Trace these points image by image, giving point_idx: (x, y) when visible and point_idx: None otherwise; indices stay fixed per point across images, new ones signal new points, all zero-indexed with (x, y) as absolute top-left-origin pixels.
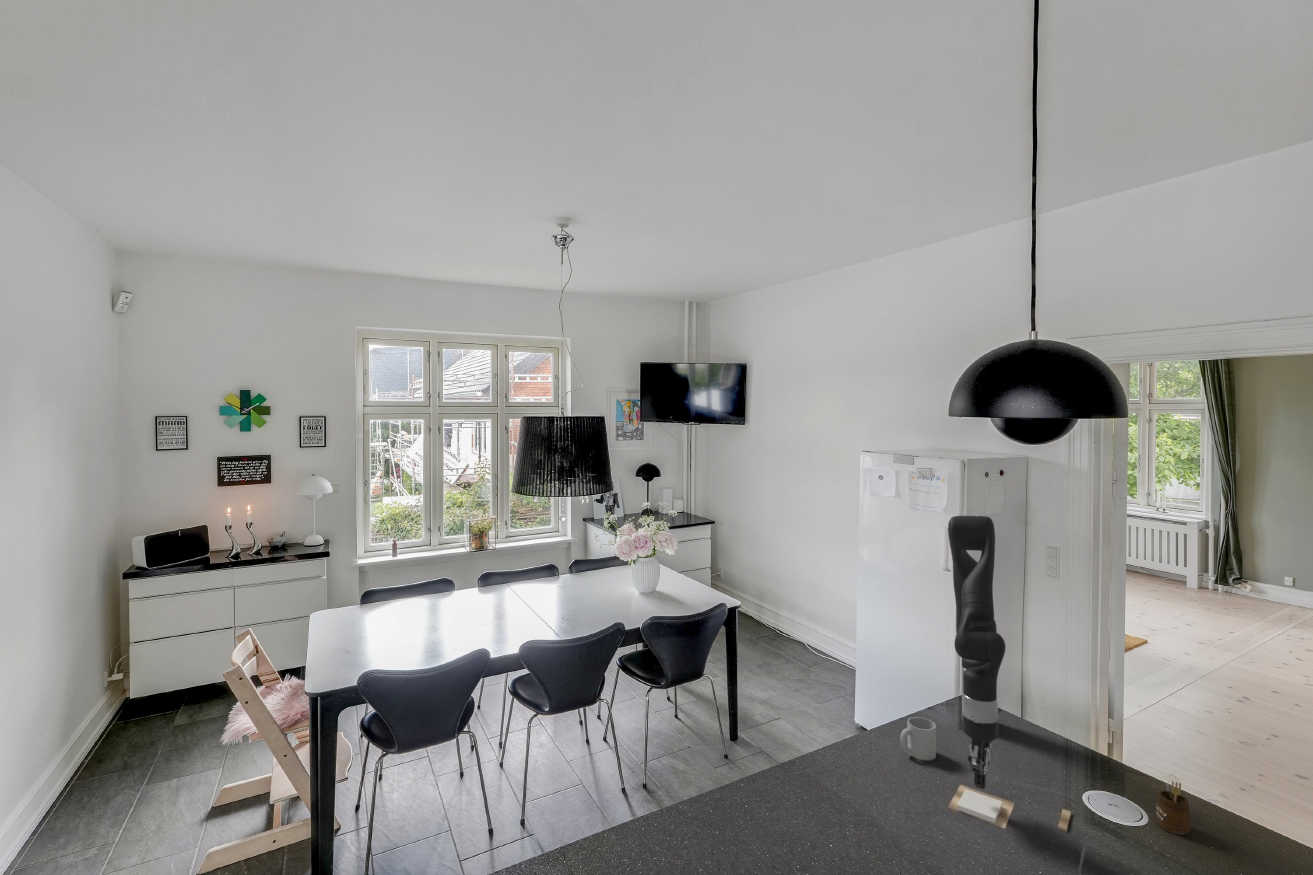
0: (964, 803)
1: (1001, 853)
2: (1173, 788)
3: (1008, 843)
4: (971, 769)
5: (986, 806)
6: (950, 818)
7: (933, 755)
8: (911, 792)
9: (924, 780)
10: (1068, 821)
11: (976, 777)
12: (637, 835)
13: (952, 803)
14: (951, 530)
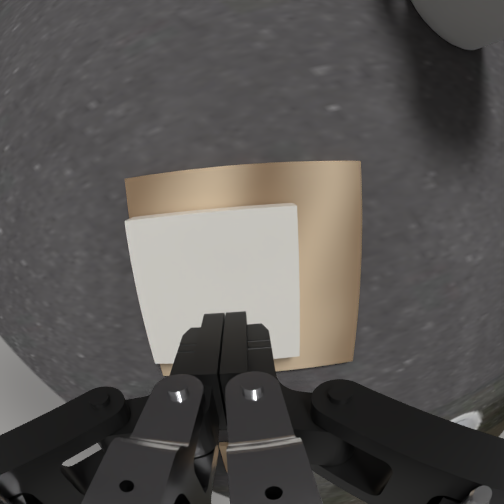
0: (159, 244)
1: (66, 373)
2: None
3: (116, 384)
4: (64, 407)
5: None
6: (84, 211)
7: (458, 37)
8: (152, 27)
9: (287, 26)
10: None
11: (175, 366)
12: None
13: (169, 182)
14: None
